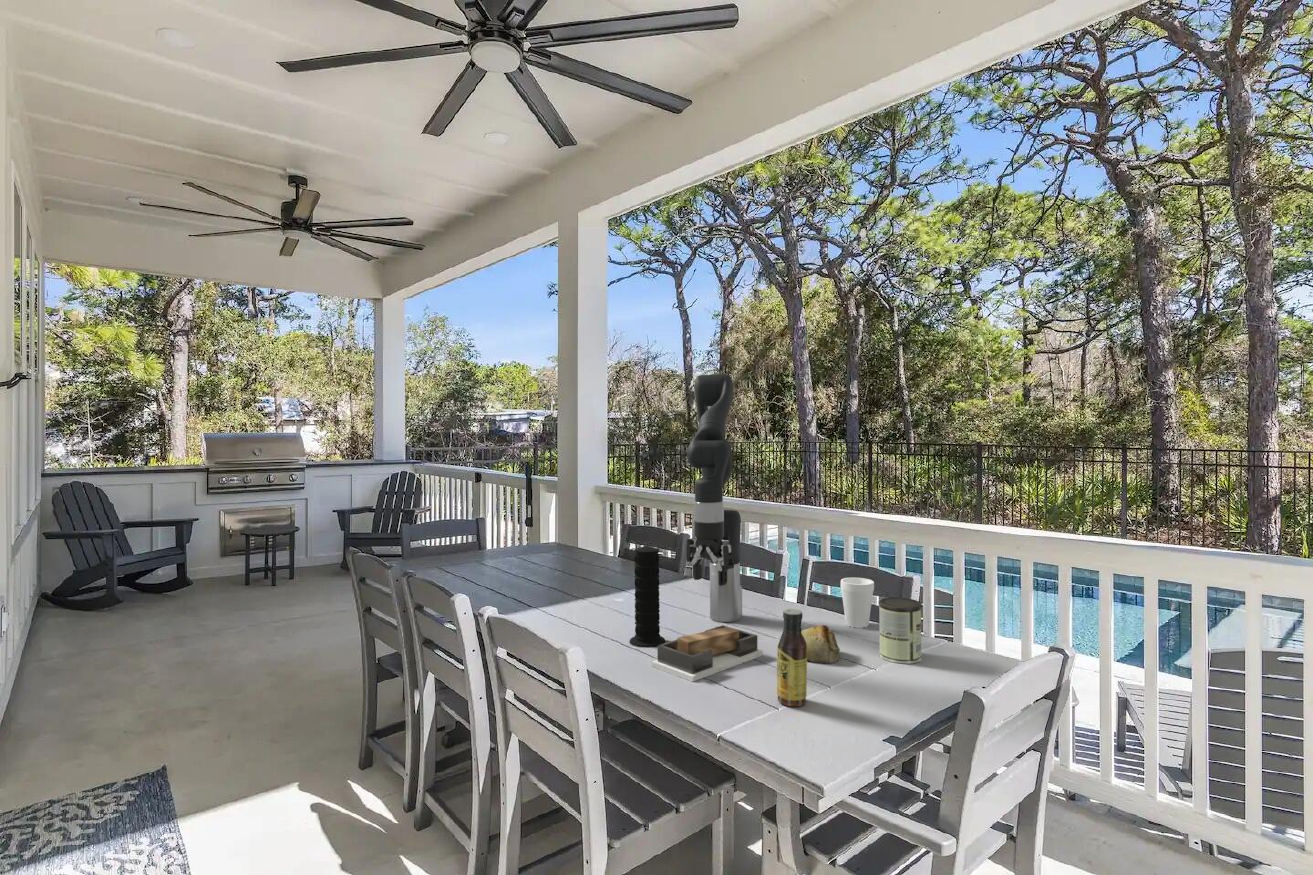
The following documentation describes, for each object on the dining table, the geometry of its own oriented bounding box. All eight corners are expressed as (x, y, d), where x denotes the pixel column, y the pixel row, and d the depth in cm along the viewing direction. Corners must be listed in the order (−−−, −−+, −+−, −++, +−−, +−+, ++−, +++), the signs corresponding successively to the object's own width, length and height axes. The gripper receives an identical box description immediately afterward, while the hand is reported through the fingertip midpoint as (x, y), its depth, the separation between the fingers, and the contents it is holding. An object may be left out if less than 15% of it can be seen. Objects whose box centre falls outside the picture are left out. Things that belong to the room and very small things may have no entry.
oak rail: (727, 643, 180) (727, 626, 179) (738, 648, 176) (738, 630, 176) (677, 655, 171) (677, 637, 171) (688, 660, 167) (688, 642, 167)
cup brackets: (722, 639, 186) (722, 625, 186) (757, 650, 177) (757, 635, 177) (657, 661, 170) (657, 645, 169) (692, 674, 161) (692, 657, 161)
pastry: (850, 662, 172) (850, 630, 171) (803, 666, 169) (803, 634, 169) (824, 644, 185) (824, 615, 185) (781, 648, 183) (781, 618, 182)
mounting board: (722, 642, 187) (722, 638, 187) (763, 655, 177) (763, 650, 177) (651, 666, 170) (651, 661, 170) (692, 681, 159) (692, 676, 159)
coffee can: (879, 648, 181) (879, 595, 181) (920, 652, 178) (920, 598, 178) (878, 661, 172) (878, 605, 171) (922, 666, 168) (922, 609, 168)
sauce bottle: (773, 697, 150) (773, 606, 150) (801, 695, 151) (801, 605, 150) (781, 709, 144) (781, 615, 143) (811, 708, 144) (810, 614, 144)
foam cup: (862, 631, 196) (862, 586, 196) (834, 624, 203) (834, 580, 202) (880, 625, 202) (880, 581, 202) (852, 618, 209) (852, 576, 209)
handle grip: (625, 646, 185) (661, 648, 183) (624, 548, 184) (661, 549, 182) (634, 634, 195) (668, 636, 193) (633, 542, 194) (667, 543, 192)
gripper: (740, 520, 171) (740, 584, 172) (698, 514, 182) (699, 574, 183) (720, 524, 166) (720, 590, 167) (678, 517, 177) (679, 580, 177)
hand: (709, 582), depth 175 cm, fingers open, 8 cm apart
